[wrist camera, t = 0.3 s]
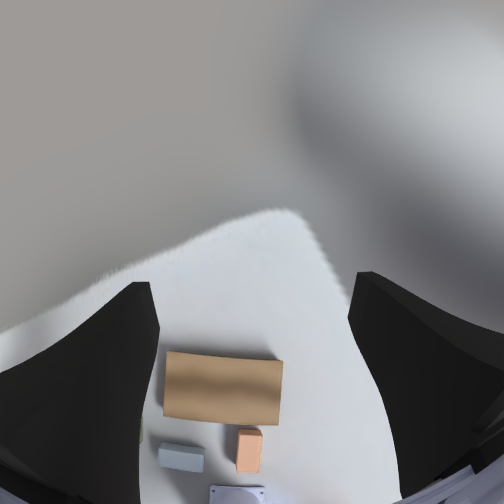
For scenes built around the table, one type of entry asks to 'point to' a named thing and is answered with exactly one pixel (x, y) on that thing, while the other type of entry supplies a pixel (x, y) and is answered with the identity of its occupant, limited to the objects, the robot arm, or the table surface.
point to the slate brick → (181, 457)
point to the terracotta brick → (248, 451)
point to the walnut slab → (222, 389)
